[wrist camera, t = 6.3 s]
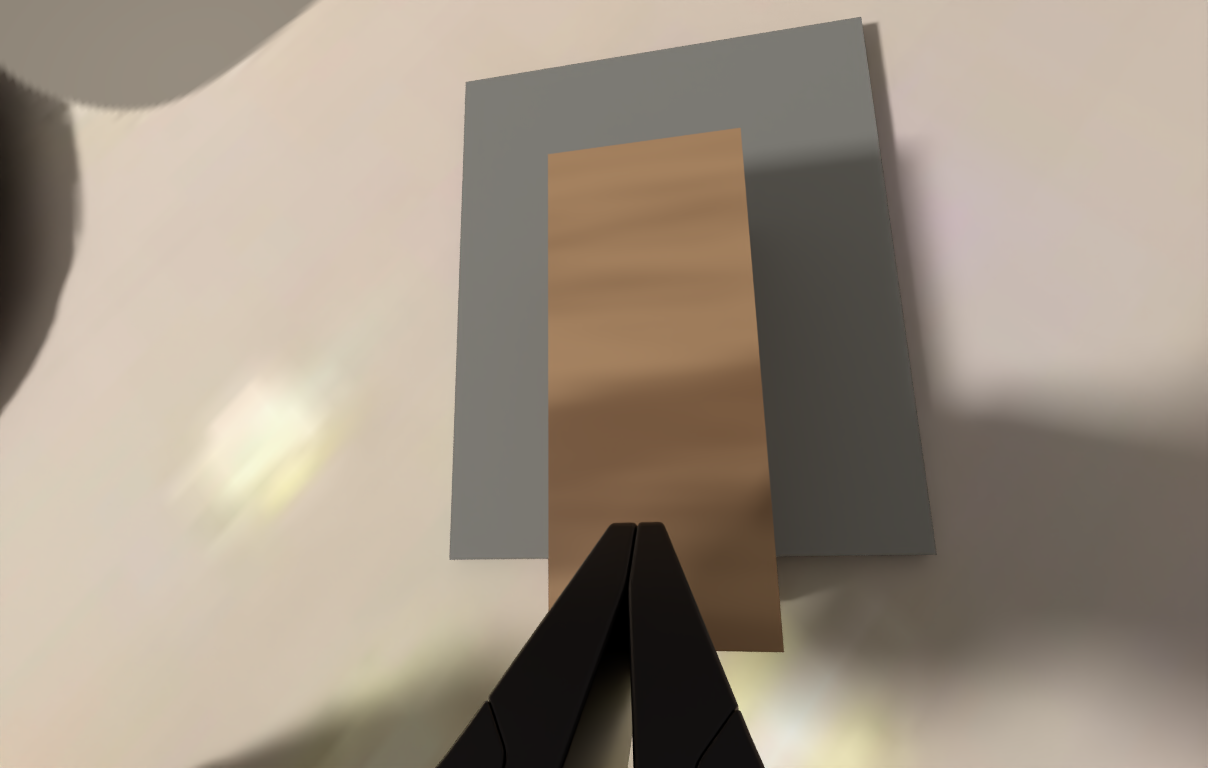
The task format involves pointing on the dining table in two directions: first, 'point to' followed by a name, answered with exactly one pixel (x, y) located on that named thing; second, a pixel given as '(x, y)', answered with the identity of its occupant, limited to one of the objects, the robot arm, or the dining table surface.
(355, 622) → the dining table surface
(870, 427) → the mat
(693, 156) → the walnut block
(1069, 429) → the dining table surface
